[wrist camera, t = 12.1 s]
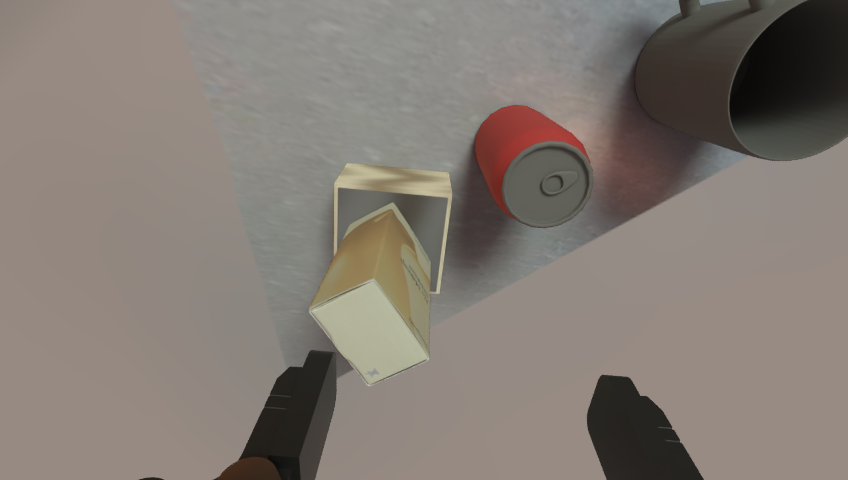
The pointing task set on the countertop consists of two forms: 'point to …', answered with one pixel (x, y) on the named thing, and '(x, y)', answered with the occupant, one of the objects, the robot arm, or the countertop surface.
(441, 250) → the birch plinth
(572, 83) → the countertop surface
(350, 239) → the skincare box
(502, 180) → the beer can
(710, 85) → the mug
